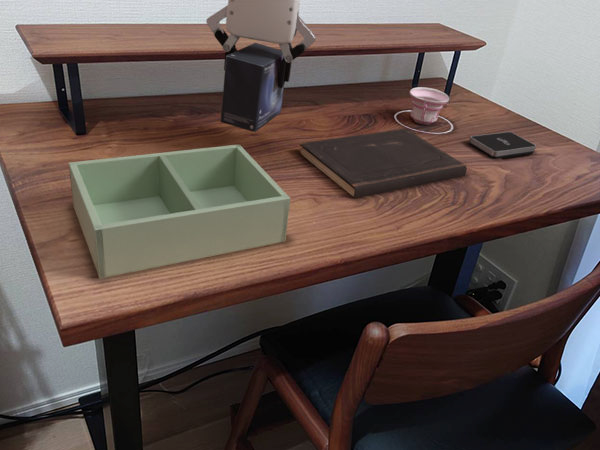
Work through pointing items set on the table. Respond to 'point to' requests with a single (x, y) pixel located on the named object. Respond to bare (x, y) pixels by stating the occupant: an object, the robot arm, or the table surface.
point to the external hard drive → (502, 145)
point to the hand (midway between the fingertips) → (256, 80)
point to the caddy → (175, 207)
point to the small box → (252, 87)
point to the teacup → (426, 106)
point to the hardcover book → (381, 162)
